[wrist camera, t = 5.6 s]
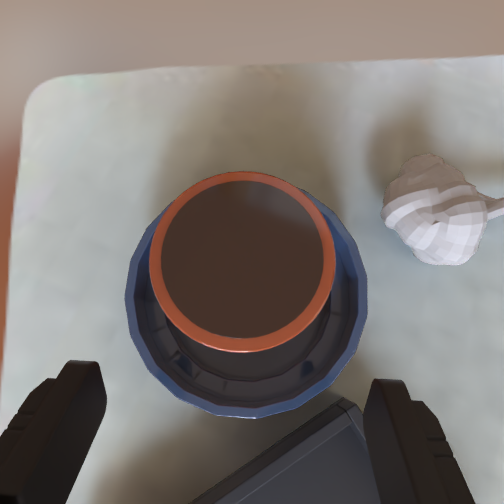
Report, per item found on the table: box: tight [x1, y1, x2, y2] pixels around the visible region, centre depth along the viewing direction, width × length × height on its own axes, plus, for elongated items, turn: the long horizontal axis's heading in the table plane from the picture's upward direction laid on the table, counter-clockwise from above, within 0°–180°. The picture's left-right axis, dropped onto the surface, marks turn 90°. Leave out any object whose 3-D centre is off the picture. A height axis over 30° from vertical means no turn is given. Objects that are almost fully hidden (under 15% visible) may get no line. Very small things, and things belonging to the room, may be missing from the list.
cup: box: [149, 171, 336, 353], centre depth 16 cm, size 6×6×10 cm
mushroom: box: [381, 154, 504, 265], centre depth 21 cm, size 7×5×12 cm
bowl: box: [125, 187, 367, 419], centre depth 19 cm, size 11×11×4 cm
